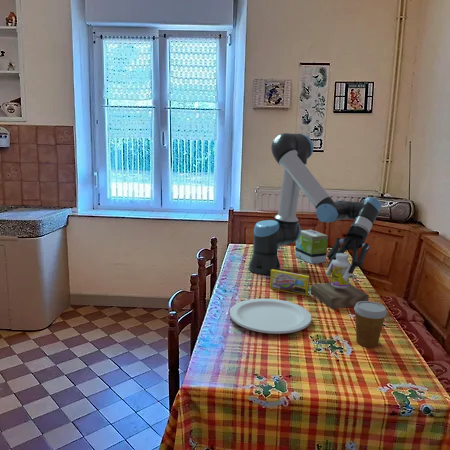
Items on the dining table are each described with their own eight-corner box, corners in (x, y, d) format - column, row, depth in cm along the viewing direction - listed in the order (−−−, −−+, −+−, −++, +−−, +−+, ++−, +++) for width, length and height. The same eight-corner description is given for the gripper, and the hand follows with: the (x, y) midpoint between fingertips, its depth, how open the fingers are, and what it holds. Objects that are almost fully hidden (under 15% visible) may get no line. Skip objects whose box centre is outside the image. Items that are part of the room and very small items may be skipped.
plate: (224, 333, 132) (224, 327, 132) (234, 301, 159) (234, 295, 159) (313, 342, 128) (314, 335, 128) (308, 307, 156) (309, 301, 155)
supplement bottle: (327, 283, 166) (330, 252, 163) (342, 282, 168) (345, 251, 165) (336, 289, 160) (339, 257, 157) (351, 288, 161) (354, 256, 159)
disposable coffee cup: (358, 332, 135) (361, 298, 133) (387, 342, 129) (391, 306, 127) (346, 343, 128) (349, 306, 126) (376, 353, 122) (381, 315, 120)
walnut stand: (330, 308, 155) (331, 298, 154) (310, 293, 170) (311, 284, 169) (367, 305, 159) (368, 295, 158) (345, 290, 174) (345, 281, 174)
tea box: (294, 256, 225) (295, 230, 222) (309, 255, 230) (311, 228, 227) (310, 264, 212) (312, 236, 209) (326, 262, 216) (328, 234, 213)
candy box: (269, 288, 174) (270, 270, 173) (271, 287, 176) (272, 268, 174) (306, 296, 167) (308, 276, 165) (308, 294, 169) (309, 275, 167)
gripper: (385, 240, 164) (362, 288, 156) (340, 231, 178) (316, 276, 169) (380, 228, 159) (356, 278, 151) (334, 221, 173) (310, 266, 164)
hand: (335, 277), depth 160 cm, fingers closed on supplement bottle, 7 cm apart
